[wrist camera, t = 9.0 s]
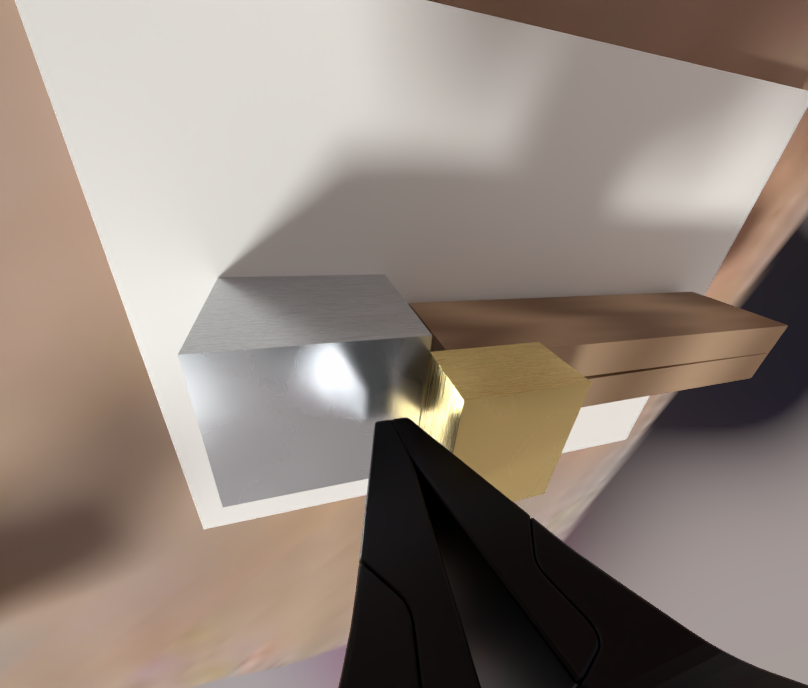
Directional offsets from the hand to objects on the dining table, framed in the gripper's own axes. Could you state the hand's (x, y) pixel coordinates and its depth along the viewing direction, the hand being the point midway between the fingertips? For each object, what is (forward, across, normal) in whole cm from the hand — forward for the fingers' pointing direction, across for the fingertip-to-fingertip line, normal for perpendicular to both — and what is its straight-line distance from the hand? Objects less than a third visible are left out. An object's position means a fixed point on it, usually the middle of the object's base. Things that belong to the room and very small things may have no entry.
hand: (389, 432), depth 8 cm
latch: (0, -2, 0) cm, 3 cm away
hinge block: (+5, +1, 0) cm, 5 cm away
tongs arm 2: (+5, -9, -1) cm, 10 cm away
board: (+6, -6, 0) cm, 8 cm away
